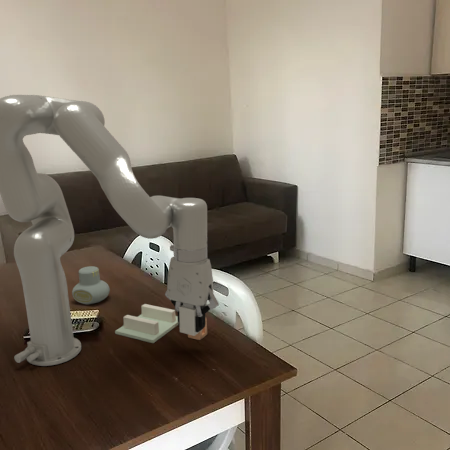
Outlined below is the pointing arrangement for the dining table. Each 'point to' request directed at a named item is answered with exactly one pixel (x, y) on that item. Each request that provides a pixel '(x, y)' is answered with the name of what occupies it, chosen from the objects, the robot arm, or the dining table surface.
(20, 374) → the dining table surface
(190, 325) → the block
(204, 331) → the clips
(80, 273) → the air freshener
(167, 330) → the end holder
